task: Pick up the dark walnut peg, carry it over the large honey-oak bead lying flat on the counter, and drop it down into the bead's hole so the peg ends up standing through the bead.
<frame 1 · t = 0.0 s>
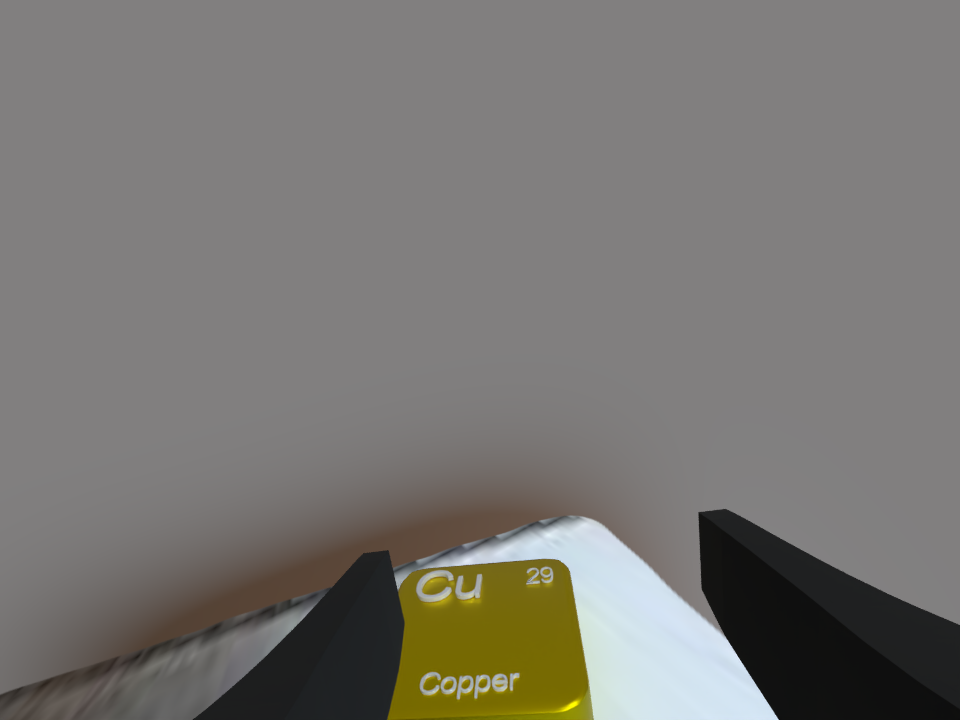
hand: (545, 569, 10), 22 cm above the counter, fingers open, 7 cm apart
element tile: (485, 673, 35), on the counter
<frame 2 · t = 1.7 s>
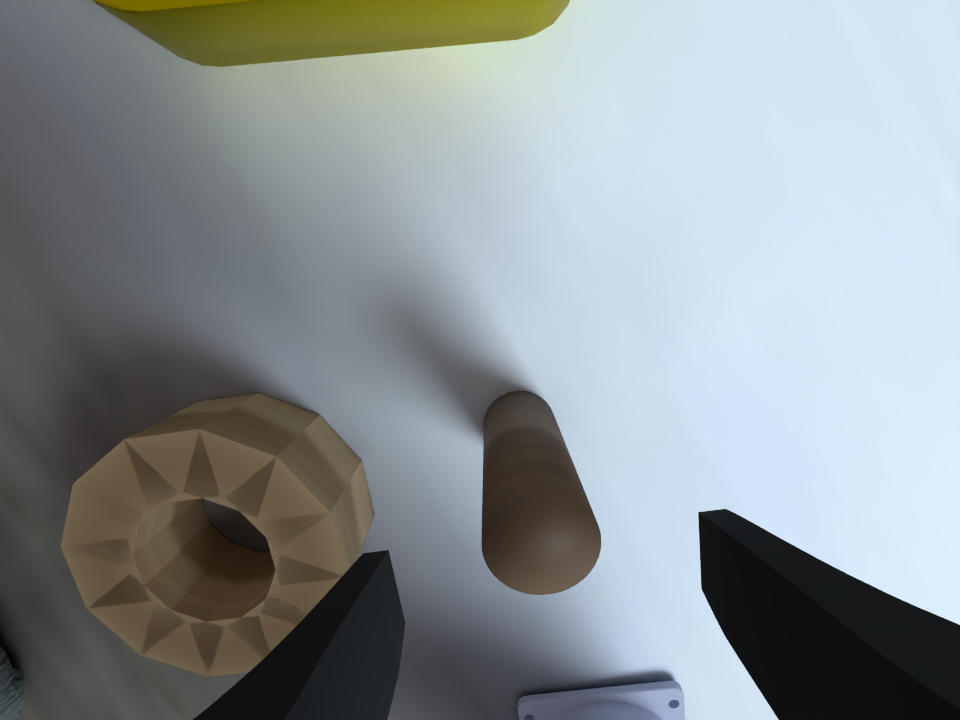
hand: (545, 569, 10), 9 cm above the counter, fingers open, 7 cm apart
peg: (519, 424, 19), on the counter
bead: (259, 502, 20), on the counter
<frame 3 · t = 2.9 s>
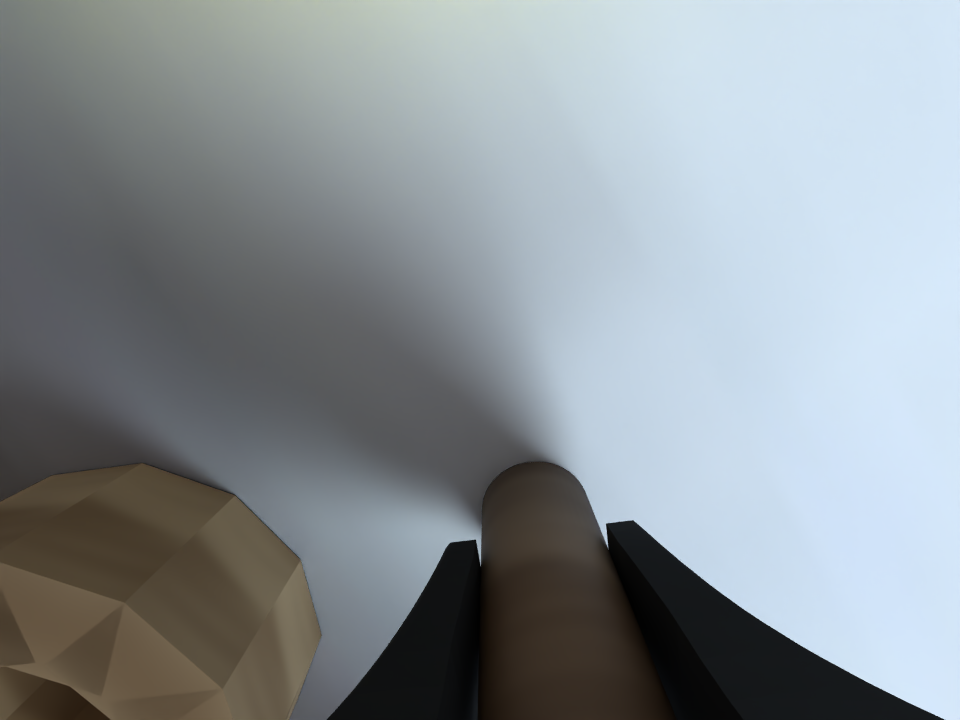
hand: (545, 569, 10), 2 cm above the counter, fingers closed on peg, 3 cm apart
peg: (535, 510, 13), on the counter, touching gripper
bead: (152, 617, 14), on the counter
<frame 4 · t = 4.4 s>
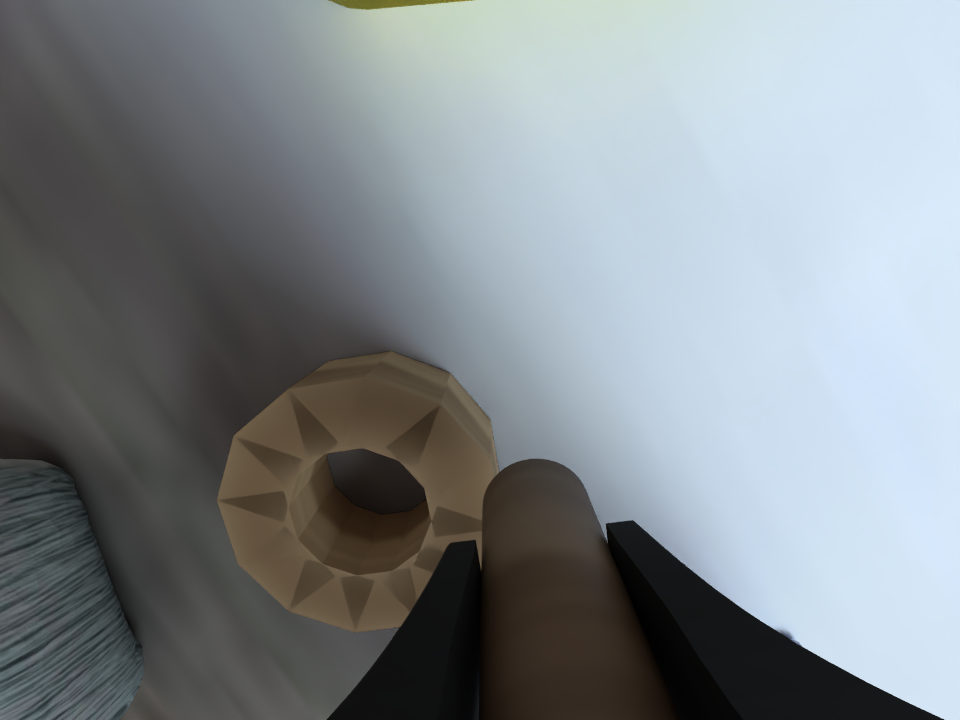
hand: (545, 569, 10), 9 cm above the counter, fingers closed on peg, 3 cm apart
peg: (535, 507, 13), point 7 cm above the counter, touching gripper
bead: (384, 463, 20), on the counter
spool: (79, 563, 22), on the counter
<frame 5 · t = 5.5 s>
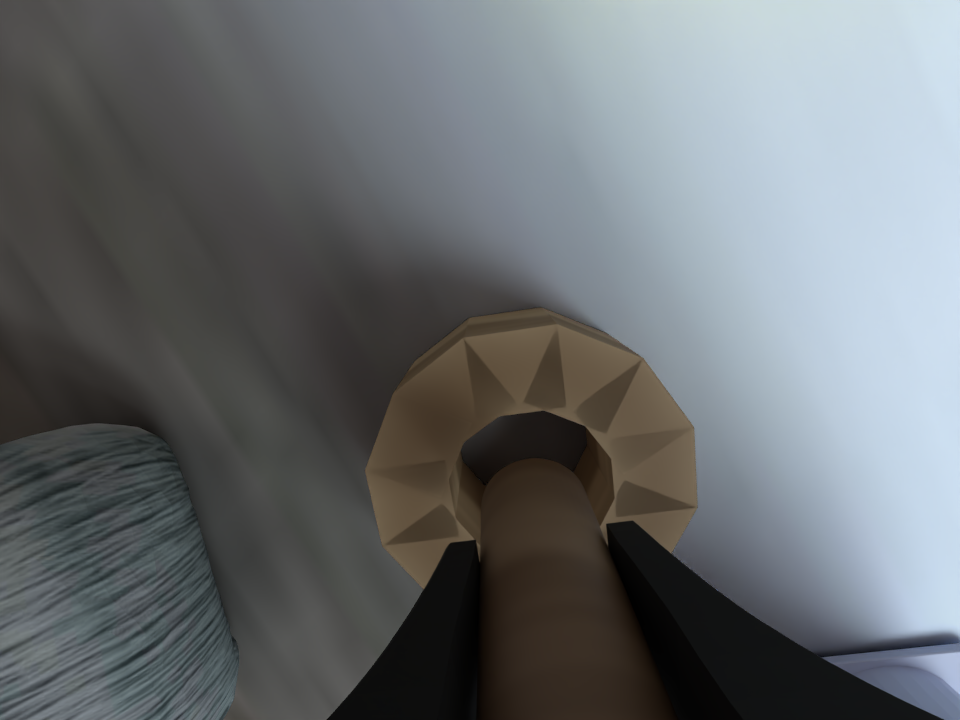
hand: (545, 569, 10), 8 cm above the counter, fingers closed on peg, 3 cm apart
peg: (534, 506, 13), point 5 cm above the counter, touching gripper
bead: (522, 437, 18), on the counter
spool: (165, 546, 20), on the counter
when the fingers open (5 cm above the counter, at t = 6.2 s): peg drops 2 cm, resting in bead.
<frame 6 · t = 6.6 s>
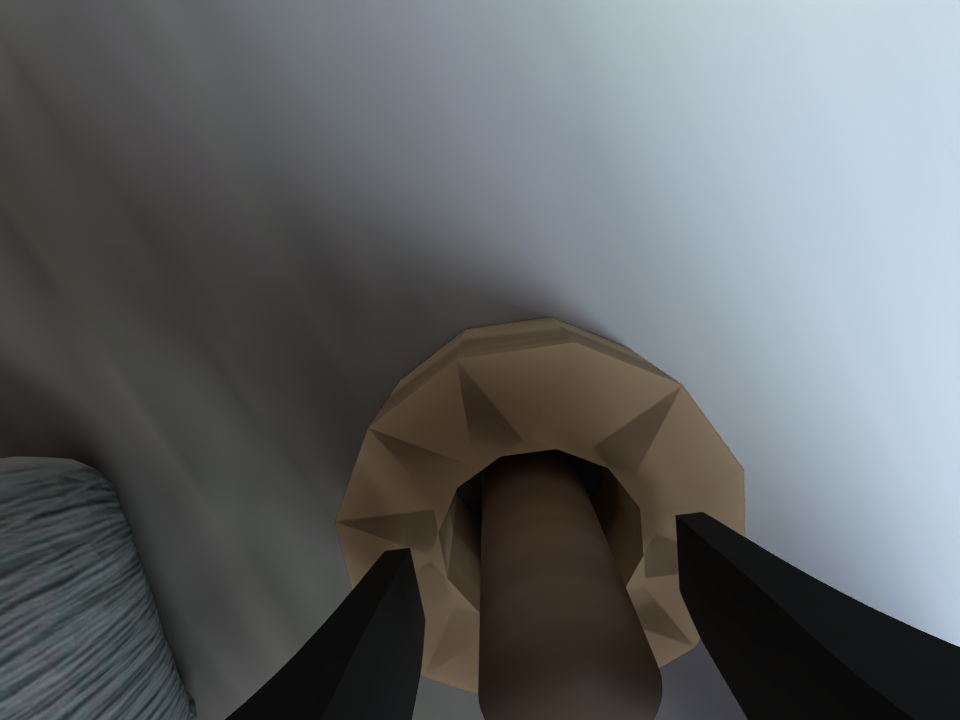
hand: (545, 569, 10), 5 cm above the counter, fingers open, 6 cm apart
peg: (527, 466, 15), resting in bead
bead: (527, 468, 15), on the counter
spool: (114, 592, 17), on the counter
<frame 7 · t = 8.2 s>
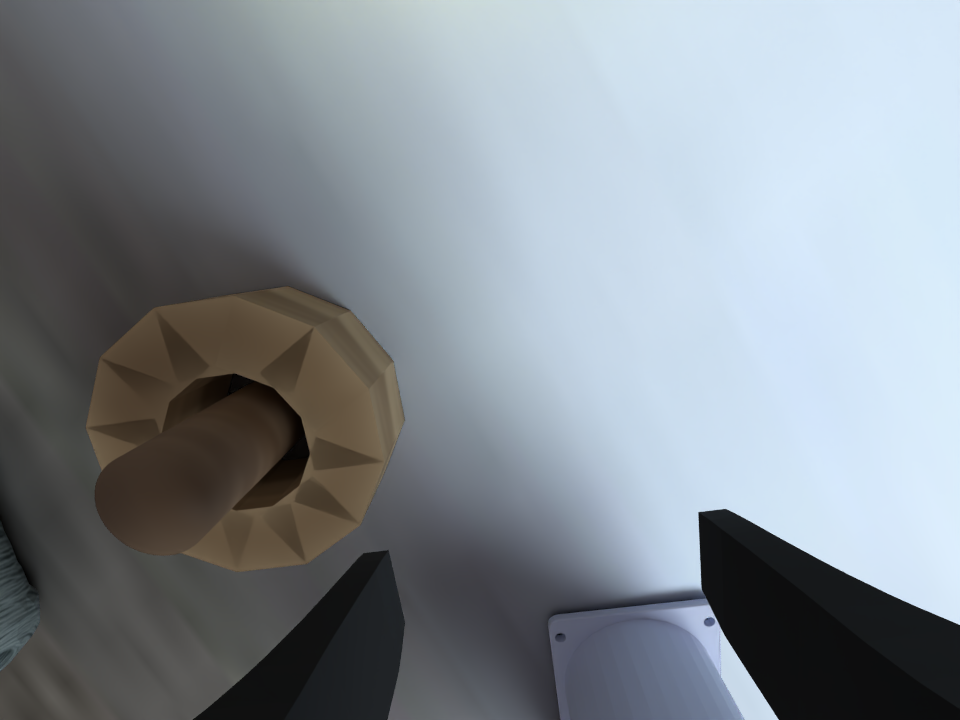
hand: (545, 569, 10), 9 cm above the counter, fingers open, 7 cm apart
peg: (286, 403, 19), resting in bead
bead: (285, 406, 19), on the counter
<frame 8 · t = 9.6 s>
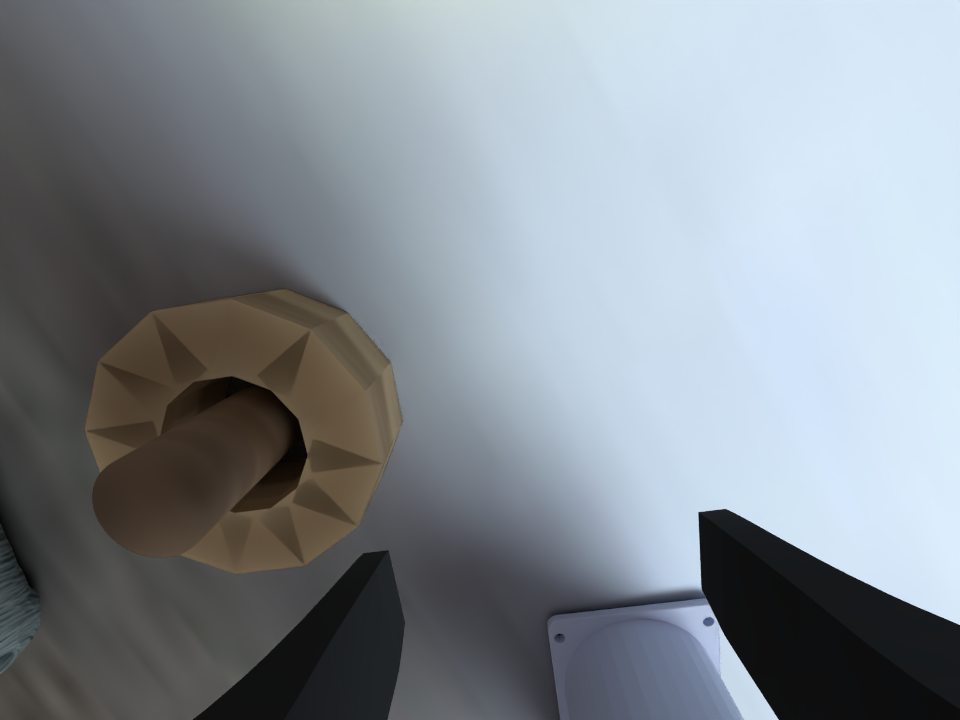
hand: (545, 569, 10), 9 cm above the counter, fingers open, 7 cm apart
peg: (284, 405, 20), resting in bead
bead: (284, 408, 20), on the counter
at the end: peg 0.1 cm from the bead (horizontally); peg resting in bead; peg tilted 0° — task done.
